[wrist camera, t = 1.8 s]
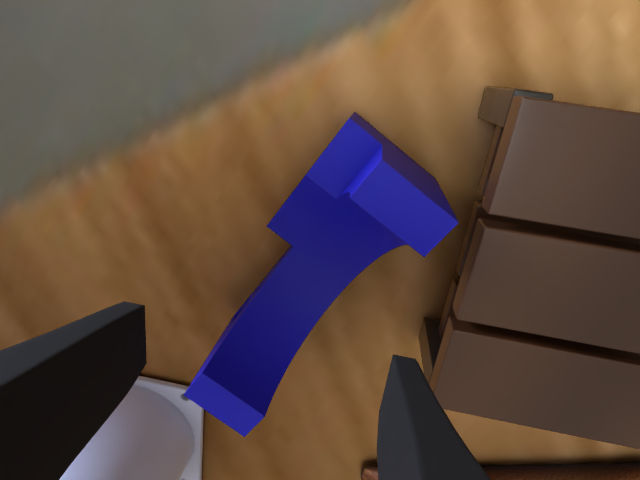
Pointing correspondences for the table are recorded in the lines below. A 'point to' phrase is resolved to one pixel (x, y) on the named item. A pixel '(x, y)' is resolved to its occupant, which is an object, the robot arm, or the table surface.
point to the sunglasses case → (549, 472)
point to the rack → (547, 275)
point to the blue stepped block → (320, 263)
